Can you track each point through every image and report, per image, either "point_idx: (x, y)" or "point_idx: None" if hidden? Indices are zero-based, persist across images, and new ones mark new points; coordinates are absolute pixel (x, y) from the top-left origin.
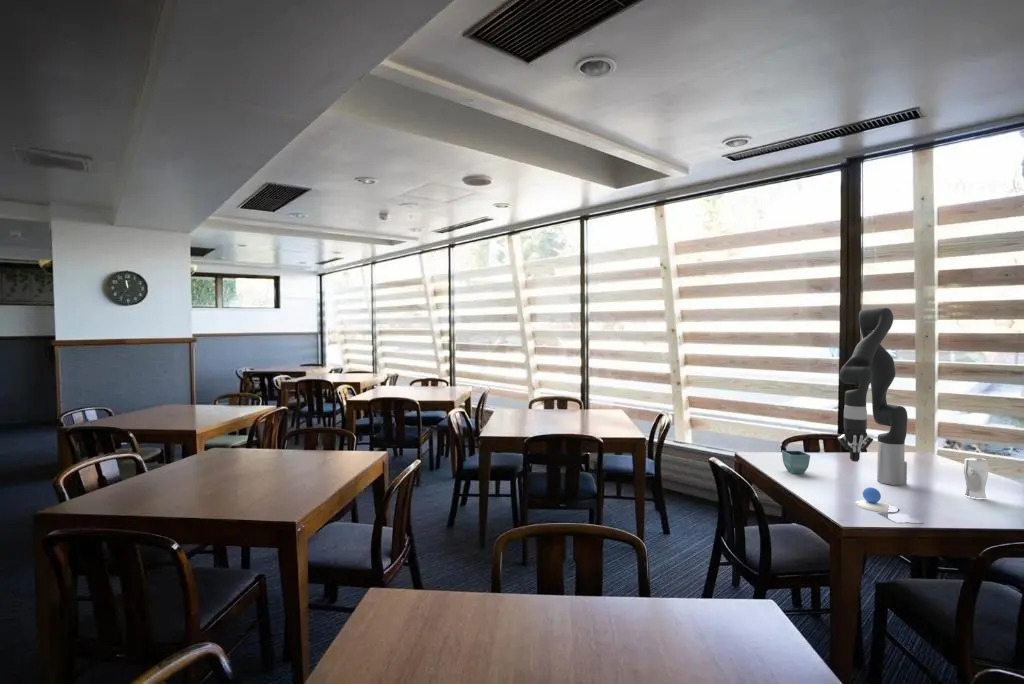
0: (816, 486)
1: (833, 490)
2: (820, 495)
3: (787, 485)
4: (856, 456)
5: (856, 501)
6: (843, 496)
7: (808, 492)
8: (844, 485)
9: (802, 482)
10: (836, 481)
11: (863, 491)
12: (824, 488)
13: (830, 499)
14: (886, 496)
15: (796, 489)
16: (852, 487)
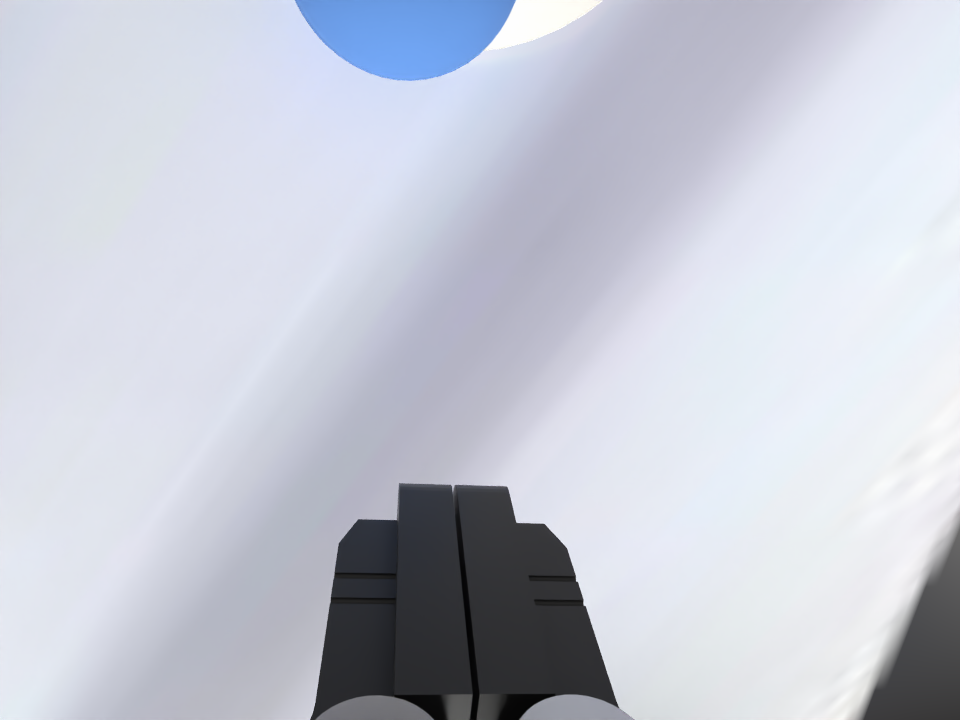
0: (621, 568)
1: (540, 447)
2: (824, 282)
3: (882, 590)
4: (457, 580)
5: (597, 2)
6: (588, 238)
7: (865, 385)
8: (295, 603)
9: (663, 675)
10: (294, 713)
11: (508, 4)
12: (588, 509)
13: (833, 131)
14: (26, 220)
15: (903, 478)
16: (249, 543)
